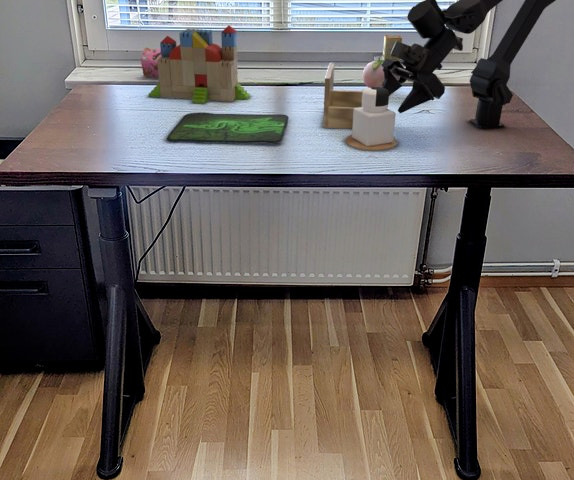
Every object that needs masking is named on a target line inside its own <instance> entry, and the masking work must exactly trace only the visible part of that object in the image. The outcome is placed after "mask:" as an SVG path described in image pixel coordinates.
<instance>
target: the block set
mask: <svg viewBox="0 0 574 480" xmlns="http://www.w3.org/2000/svg"><path fill="white" fill-rule="evenodd" d="M220 34H221V35H220V36H221V45H219V44H217V43H213V29H203V28H202V29H199V28H196V29H195V28H186V29H184V30H181V31H180V32H179V44H178V45H177V41H176V40H175V39H173V38H172V37H170V36H169V35H166V36H165V37H164V38H163V39H162V40H161V41H160V43H159V47H160V48H159V49H161V56H162V57H160V58H158V59H157V62H158V74H159V78H158V83H157V84H156V86H154V87H153V89H152V90H151V91H150V92H149V93H148V97H150V98H167V99H181V100H191V101H192V103H193V104H206V103H207V102H208V101H211V102H212V101H214V102H228V103H232V102H234V101H235V100H248V99H250V97H251V93H248V90H247V89H245V87H244V86H242V84H241V83H239V71H238V70H239V67H238V65H239V64H238V32H237V30H236V29H235V28H233V27H232V26H231V25H227V26H226V27H225V28H224V29H223V30H222V31H221V33H220Z"/></svg>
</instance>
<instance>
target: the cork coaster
mask: <svg viewBox="0 0 574 480" xmlns="http://www.w3.org/2000/svg"><path fill="white" fill-rule="evenodd" d="M345 143H346V144H347V145H348V146H349V147H351V148H354V149H357V150H361V151H362V150H363V151H373V152H374V151H375V152H376V151H379V152H380V151H386V150H392V149H393V148H394V149H395V147H397V145H398V140H397V139H396V137H394V136H393V142H392V143H386V144H380V145H374V146H366V145H364V144H362V143H360V142H359V141H357V140H355V139H353V138H352V134H350V135H348V136H347V137H346V138H345Z"/></svg>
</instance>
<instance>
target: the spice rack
mask: <svg viewBox="0 0 574 480" xmlns="http://www.w3.org/2000/svg"><path fill="white" fill-rule="evenodd" d="M334 82H335V62H330V63H329V64H328V67H327V70H326V73H325V76H324V96H323V120H322V127H323V128H324V129H326V128H327V129H329V128H330V129H347V130H348V129H349V130H352V127H353V111H354V108H359V107H362V92H363V90H344V89H343V90H341V89H334V87H335V86H334V85H335V84H334Z"/></svg>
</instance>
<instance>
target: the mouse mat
mask: <svg viewBox="0 0 574 480" xmlns="http://www.w3.org/2000/svg"><path fill="white" fill-rule="evenodd" d="M288 120H289V116H288V115H287V114H283V113H282V114H281V113H280V114H279V113H277V114H276V113H275V114H269V113H268V114H264V113H263V114H258V113H257V114H253V113H252V114H251V113H212V112H211V113H210V112H190V113H187V114H185V115H184V116H183V117H182V118H181V119H180V120H179V122H178V123H177V124H176V125H175V127H173V129H172V130H171V132H170V133H169V134H168V135H167V137H166V140H167V141H169V142H194V143H225V144H226V143H234V144H236V143H238V144H252V143H253V144H254V143H260V144H261V143H263V144H264V143H267V144H277V143H280V142H282V140H283V137H284V134H285V130H286V126H287V125H288Z"/></svg>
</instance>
